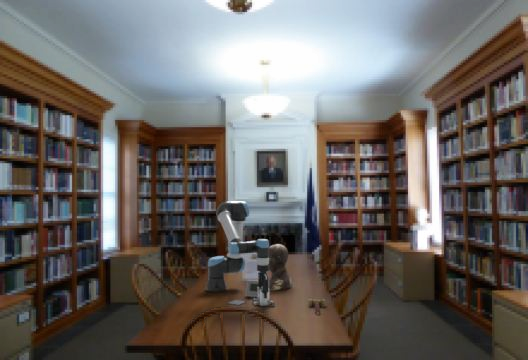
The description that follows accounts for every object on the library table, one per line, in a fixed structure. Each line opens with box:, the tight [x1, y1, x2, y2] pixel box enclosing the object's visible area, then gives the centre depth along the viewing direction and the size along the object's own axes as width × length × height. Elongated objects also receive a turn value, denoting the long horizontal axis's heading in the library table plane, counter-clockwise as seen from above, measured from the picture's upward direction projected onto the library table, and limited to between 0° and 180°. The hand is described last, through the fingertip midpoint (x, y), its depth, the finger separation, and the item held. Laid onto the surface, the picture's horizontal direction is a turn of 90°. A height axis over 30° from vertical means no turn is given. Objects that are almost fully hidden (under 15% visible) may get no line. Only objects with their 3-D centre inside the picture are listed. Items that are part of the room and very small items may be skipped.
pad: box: [227, 299, 246, 307], centre depth 244 cm, size 8×8×1 cm
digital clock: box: [245, 279, 270, 299], centre depth 260 cm, size 16×9×11 cm, turn 60°
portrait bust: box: [268, 243, 292, 291], centre depth 294 cm, size 21×35×31 cm, turn 174°
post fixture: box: [252, 297, 275, 307], centre depth 241 cm, size 15×2×8 cm, turn 58°
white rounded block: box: [253, 286, 271, 307], centre depth 241 cm, size 12×6×11 cm, turn 108°
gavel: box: [308, 298, 326, 316], centre depth 228 cm, size 21×5×10 cm
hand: (263, 301), depth 241 cm, fingers closed on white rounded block, 6 cm apart
